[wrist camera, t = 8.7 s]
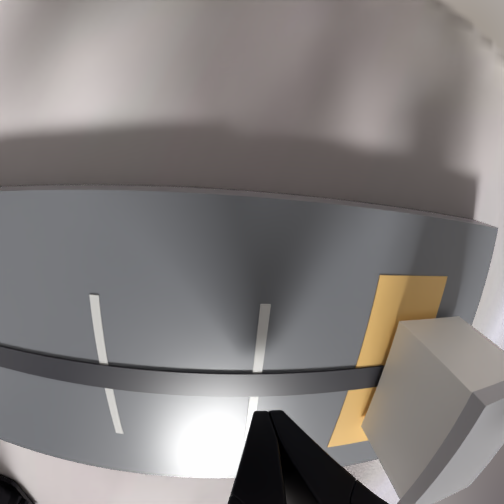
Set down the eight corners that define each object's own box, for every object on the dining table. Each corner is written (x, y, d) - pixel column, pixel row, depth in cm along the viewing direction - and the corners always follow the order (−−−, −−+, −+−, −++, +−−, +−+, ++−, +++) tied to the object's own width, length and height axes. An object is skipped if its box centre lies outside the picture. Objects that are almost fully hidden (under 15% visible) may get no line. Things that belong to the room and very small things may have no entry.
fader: (358, 427, 11) (403, 515, 7) (397, 318, 10) (485, 406, 5) (418, 414, 11) (469, 485, 7) (461, 313, 10) (543, 378, 6)
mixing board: (2, 418, 11) (-8, 437, 10) (-56, 190, 8) (-80, 196, 6) (399, 432, 14) (411, 451, 13) (474, 219, 11) (499, 228, 9)
